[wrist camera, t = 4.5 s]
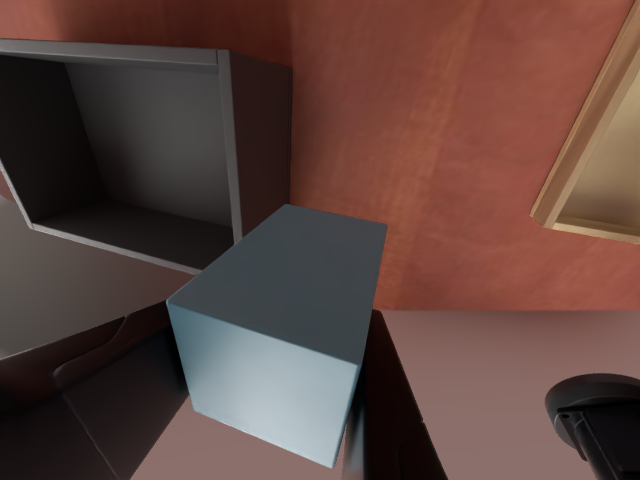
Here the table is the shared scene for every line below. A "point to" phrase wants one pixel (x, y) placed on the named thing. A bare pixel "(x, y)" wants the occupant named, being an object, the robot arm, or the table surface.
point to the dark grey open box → (144, 145)
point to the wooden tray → (601, 152)
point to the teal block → (282, 328)
